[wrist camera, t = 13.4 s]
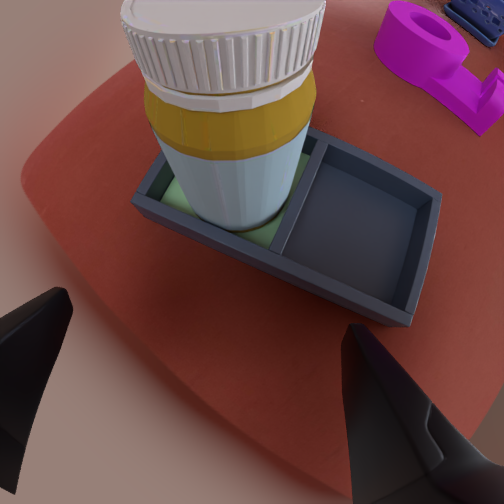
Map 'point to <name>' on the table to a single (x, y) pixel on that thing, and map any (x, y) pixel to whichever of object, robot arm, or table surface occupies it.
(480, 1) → the flower pot
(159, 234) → the table surface
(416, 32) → the tape dispenser
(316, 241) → the blue-grey divided tray
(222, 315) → the table surface
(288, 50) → the bottle
